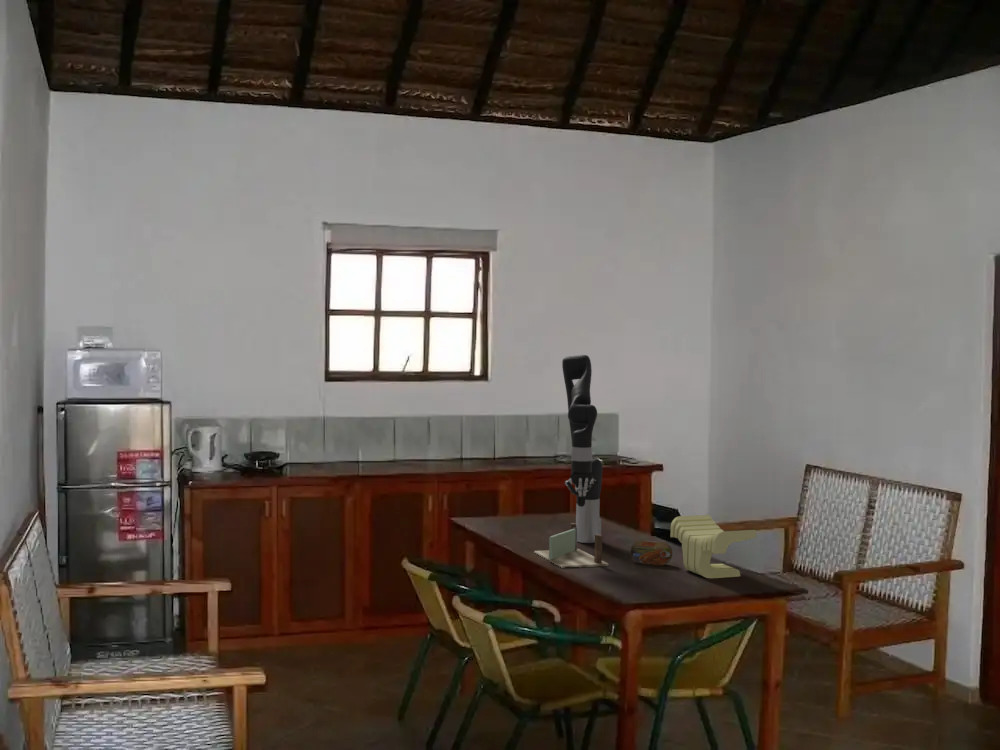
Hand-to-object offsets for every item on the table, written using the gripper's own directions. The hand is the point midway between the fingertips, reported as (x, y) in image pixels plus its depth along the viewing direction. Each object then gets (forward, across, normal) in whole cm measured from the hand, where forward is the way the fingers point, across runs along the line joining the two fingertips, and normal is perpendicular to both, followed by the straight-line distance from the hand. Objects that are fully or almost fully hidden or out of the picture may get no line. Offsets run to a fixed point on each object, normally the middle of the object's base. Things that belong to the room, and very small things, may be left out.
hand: (580, 506), depth 401 cm
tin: (+20, -23, +13) cm, 33 cm away
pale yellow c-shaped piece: (+20, -36, +32) cm, 52 cm away
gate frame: (+20, +3, -1) cm, 20 cm away
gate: (+18, +5, -5) cm, 20 cm away
